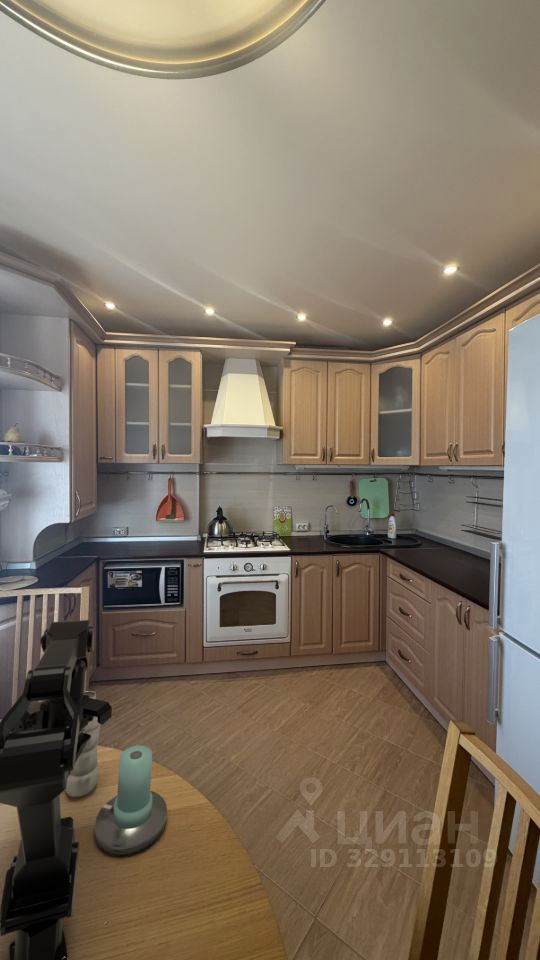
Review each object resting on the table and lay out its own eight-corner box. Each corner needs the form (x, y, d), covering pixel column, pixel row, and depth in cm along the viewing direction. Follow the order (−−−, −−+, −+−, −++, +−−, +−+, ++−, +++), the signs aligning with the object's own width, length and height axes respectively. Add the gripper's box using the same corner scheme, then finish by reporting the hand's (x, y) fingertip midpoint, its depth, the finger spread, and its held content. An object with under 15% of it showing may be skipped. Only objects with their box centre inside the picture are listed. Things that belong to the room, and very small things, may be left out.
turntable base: (174, 835, 75) (175, 828, 75) (105, 869, 68) (106, 862, 68) (151, 793, 85) (152, 787, 85) (89, 819, 78) (89, 813, 78)
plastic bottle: (56, 797, 83) (62, 700, 83) (81, 775, 89) (86, 685, 90) (81, 806, 81) (87, 706, 81) (104, 783, 87) (110, 690, 88)
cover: (156, 818, 76) (160, 758, 76) (119, 835, 72) (122, 772, 72) (145, 794, 82) (147, 739, 82) (109, 808, 77) (112, 750, 78)
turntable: (177, 828, 75) (177, 821, 75) (104, 864, 67) (105, 856, 67) (153, 785, 85) (153, 779, 85) (87, 812, 78) (88, 805, 78)
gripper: (68, 663, 80) (63, 740, 80) (-22, 713, 62) (-28, 813, 62) (115, 673, 77) (111, 753, 77) (36, 728, 59) (30, 833, 59)
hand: (61, 783), depth 69 cm, fingers closed
